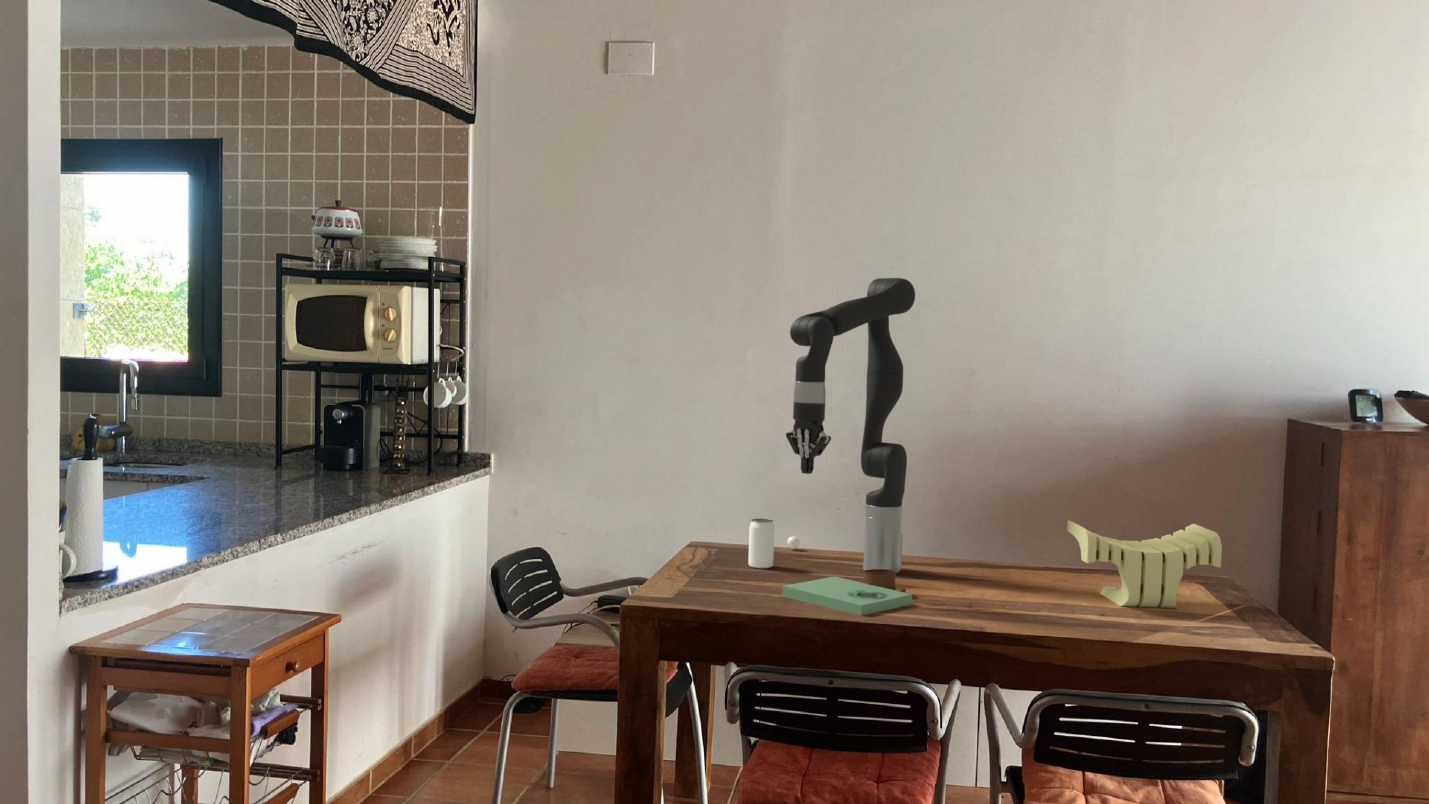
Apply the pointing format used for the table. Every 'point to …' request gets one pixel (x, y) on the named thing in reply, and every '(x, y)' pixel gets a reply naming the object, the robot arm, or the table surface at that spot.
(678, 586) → the table surface
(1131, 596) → the slatted curved stool
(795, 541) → the ball
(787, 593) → the green
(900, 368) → the robot arm
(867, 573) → the brown cylindrical stub
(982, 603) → the table surface
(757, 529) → the can
